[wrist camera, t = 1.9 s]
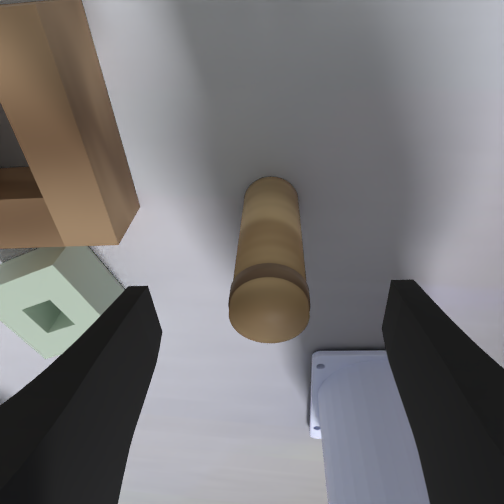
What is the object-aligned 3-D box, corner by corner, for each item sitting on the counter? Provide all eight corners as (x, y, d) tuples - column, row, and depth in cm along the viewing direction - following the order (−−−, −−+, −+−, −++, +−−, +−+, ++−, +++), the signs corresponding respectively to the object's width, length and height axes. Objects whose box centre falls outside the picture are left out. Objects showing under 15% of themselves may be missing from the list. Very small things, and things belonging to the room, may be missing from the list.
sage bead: (135, 302, 21) (120, 336, 19) (65, 324, 23) (45, 359, 20) (76, 232, 18) (52, 264, 16) (1, 263, 20) (-29, 295, 18)
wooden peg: (299, 224, 18) (310, 344, 12) (245, 226, 18) (231, 344, 12) (299, 174, 16) (312, 283, 10) (240, 176, 16) (222, 286, 11)
